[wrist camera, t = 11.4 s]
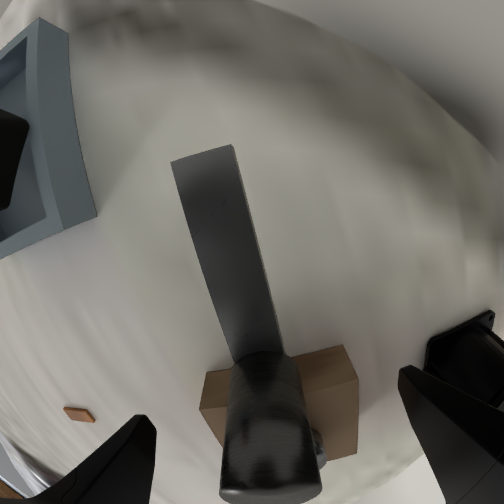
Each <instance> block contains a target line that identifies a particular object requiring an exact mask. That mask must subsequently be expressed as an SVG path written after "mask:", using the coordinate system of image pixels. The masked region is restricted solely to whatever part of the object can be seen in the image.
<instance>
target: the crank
mask: <svg viewBox="0 0 504 504" xmlns="http://www.w3.org/2000/svg"><path fill="white" fill-rule="evenodd" d="M170 163H171V166H172V170H173V174H174V178H175V181H176V185H177V189H178V192H179V196H180V199H181V203H182V206H183V210H184V213H185V217H186V220H187V223H188V227H189V230H190V233H191V237H192V240H193V243H194V246H195V250H196V253H197V256H198V259H199V262H200V265H201V269H202V272H203V275H204V278H205V281H206V284H207V287H208V290H209V293H210V296H211V299H212V302H213V304H214V307H215V310H216V313H217V316H218V319H219V322H220V324H221V327H222V330H223V333H224V336H225V338H226V341H227V344H228V346H229V349H230V352H231V355H232V357H233V360H234V362H235V364H234V365H233V367H232V369H231V372H230V381H229V391H228V401H227V412H226V422H225V433H224V444H223V455H222V466H221V477H220V489H219V495H220V497H221V498H222V499H223V500H224V501H226V502H228V503H230V504H301V503H304V502H307V501H309V500H311V499H313V498H314V497H316V496H317V495H318V494H320V492H321V491H322V483H321V477H320V472H319V470H320V469H321V468H322V467H323V466H324V465H325V464H326V462H327V457H326V452H325V447H324V443H323V438H322V435H321V434H320V432H318V431H317V430H315V429H312V428H311V425H310V420H309V415H308V410H307V405H306V400H305V395H304V390H303V385H302V380H301V375H300V371H299V367H298V365H297V363H296V362H295V361H294V360H293V359H292V358H291V357H289V356H288V355H286V353H285V348H284V344H283V340H282V336H281V332H280V328H279V324H278V320H277V316H276V312H275V308H274V304H273V300H272V296H271V292H270V288H269V284H268V280H267V276H266V272H265V268H264V264H263V260H262V256H261V252H260V248H259V244H258V240H257V236H256V232H255V228H254V224H253V220H252V216H251V212H250V208H249V204H248V201H247V197H246V193H245V189H244V185H243V181H242V177H241V173H240V170H239V166H238V162H237V158H236V154H235V150H234V147H233V146H232V145H231V144H230V145H226V146H222V147H219V148H215V149H212V150H208V151H205V152H201V153H198V154H195V155H191V156H188V157H185V158H182V159H179V160H176V161H173V162H170Z"/></svg>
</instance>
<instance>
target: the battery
mask: <svg viewBox="0 0 504 504" xmlns="http://www.w3.org/2000/svg"><path fill="white" fill-rule="evenodd" d="M29 129H30V125H29V123H28V122H27V120H25V119H23V118H21V117H19V116H17V115H14V114H12V113H10V112H7V111H5V110H2V109H0V211H2V210H5V209H7V208H8V207H9V206H10V202H11V197H12V192H13V187H14V183H15V178H16V174H17V170H18V166H19V162H20V159H21V155H22V151H23V148H24V145H25V142H26V138H27V135H28V132H29Z"/></svg>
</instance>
